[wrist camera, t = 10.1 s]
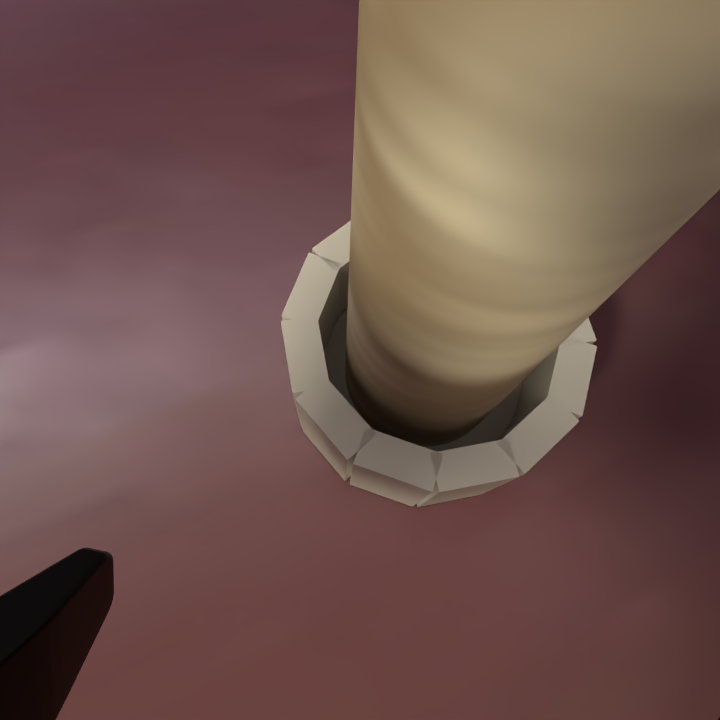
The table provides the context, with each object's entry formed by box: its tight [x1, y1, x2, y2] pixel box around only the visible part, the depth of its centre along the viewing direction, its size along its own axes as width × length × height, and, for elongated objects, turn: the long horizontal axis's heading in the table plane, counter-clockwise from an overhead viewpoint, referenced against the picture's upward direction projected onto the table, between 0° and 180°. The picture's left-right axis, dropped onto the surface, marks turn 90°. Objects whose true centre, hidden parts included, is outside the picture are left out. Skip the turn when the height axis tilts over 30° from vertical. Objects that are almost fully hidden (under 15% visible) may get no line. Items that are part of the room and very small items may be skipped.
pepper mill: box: [345, 0, 720, 447], centre depth 11 cm, size 5×5×16 cm
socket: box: [281, 221, 597, 507], centre depth 17 cm, size 8×8×4 cm
